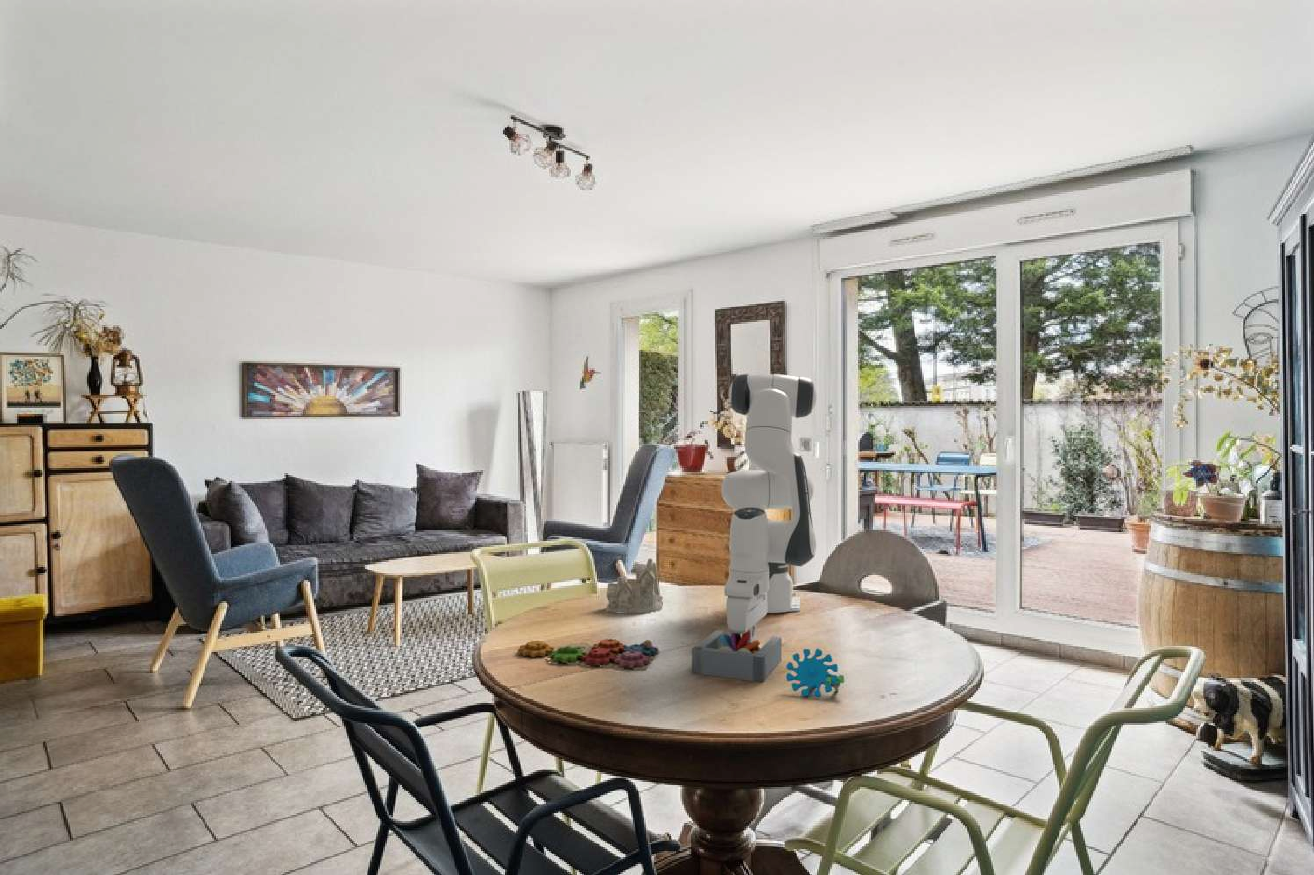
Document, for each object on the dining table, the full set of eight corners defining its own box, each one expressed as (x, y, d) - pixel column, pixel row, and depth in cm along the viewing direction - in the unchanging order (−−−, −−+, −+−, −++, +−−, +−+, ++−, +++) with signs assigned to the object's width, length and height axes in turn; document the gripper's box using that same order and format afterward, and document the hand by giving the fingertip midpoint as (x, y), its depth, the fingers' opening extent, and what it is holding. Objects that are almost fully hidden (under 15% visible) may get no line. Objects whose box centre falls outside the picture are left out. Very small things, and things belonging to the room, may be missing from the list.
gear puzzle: (506, 663, 167) (506, 644, 167) (534, 643, 182) (534, 626, 182) (645, 674, 160) (645, 654, 160) (662, 652, 175) (662, 634, 175)
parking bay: (715, 652, 174) (715, 630, 174) (781, 660, 168) (781, 637, 168) (691, 672, 159) (691, 648, 159) (762, 682, 153) (762, 657, 153)
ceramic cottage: (668, 601, 225) (664, 550, 224) (657, 617, 209) (653, 562, 208) (616, 602, 228) (613, 552, 227) (601, 617, 212) (597, 563, 211)
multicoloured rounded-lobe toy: (754, 671, 160) (755, 636, 160) (710, 665, 164) (710, 631, 164) (765, 660, 168) (765, 626, 168) (723, 654, 172) (723, 622, 172)
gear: (778, 685, 146) (794, 640, 152) (782, 700, 150) (798, 655, 156) (835, 703, 141) (850, 655, 147) (837, 717, 145) (852, 671, 151)
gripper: (748, 572, 182) (747, 631, 182) (721, 589, 163) (721, 654, 163) (774, 574, 179) (774, 634, 179) (750, 591, 160) (750, 658, 160)
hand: (748, 644), depth 171 cm, fingers closed
